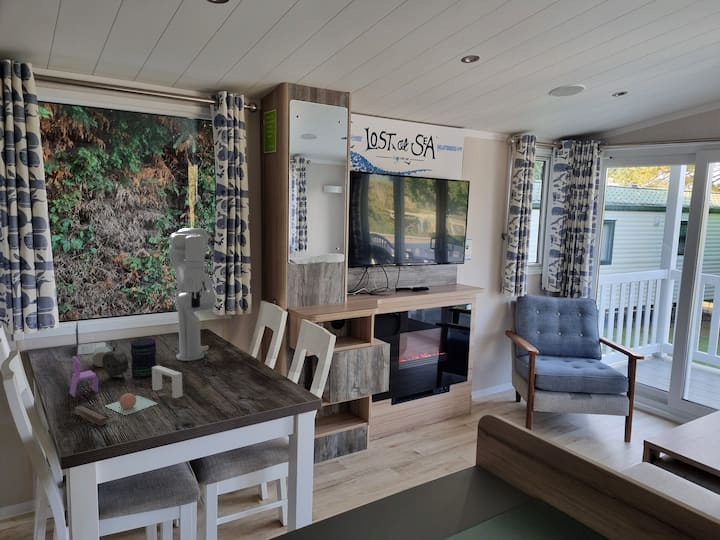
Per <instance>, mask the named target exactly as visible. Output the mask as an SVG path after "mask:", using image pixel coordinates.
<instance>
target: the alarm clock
mask: <svg viewBox="0 0 720 540" xmlns="http://www.w3.org/2000/svg"><path fill="white" fill-rule="evenodd" d="M112 342H114V343H115V346H113V345H112ZM117 346H118V343H117V341H116V340H111V341H110V347H111V348H112V350H111V351H108V352H106V353H105V354H104V355H103V358H102V365H103V367H102V368H103V370H104V371H105V373H106V374H107V375H109V380H112V377H114V378H116V377H119V376H121V377H122V379H123V380H125V379H126V378H125V376H124V374H125V373H127V371H128V369H129V361H128V358H127V356H126V354H125V352H123V351H122V350H121V349H119V348H117Z"/></svg>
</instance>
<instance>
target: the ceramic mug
mask: <svg viewBox="0 0 720 540" xmlns="http://www.w3.org/2000/svg"><path fill="white" fill-rule="evenodd" d="M108 351H111V348H109V347H108V346H106V347H105V346H101V347H98V348H97V349H96V350H95V351H94V354H92V355H93V356H92V363H93V365H95V366H96V367H100V368H103V365H102V358H103V355H104V354H105V353H106V352H108Z"/></svg>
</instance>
